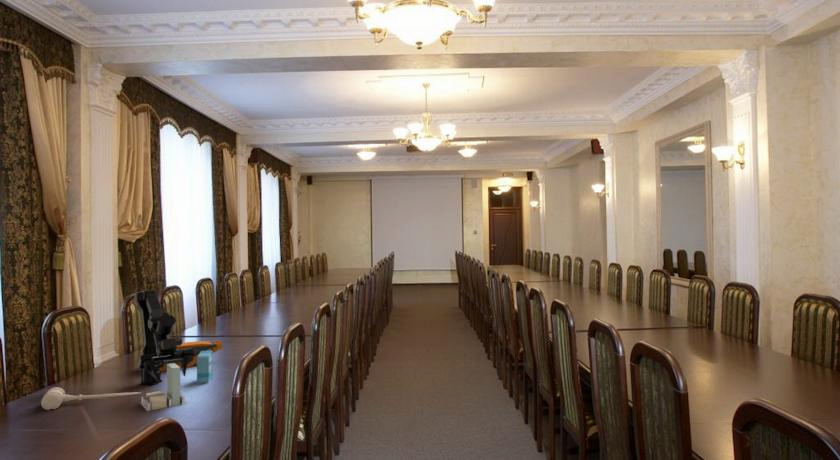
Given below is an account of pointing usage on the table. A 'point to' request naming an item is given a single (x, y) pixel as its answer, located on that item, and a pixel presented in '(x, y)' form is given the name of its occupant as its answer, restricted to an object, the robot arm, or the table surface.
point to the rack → (146, 405)
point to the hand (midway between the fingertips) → (171, 377)
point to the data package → (204, 367)
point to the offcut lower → (158, 405)
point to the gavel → (70, 397)
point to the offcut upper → (156, 397)
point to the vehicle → (198, 347)
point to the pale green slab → (173, 383)
